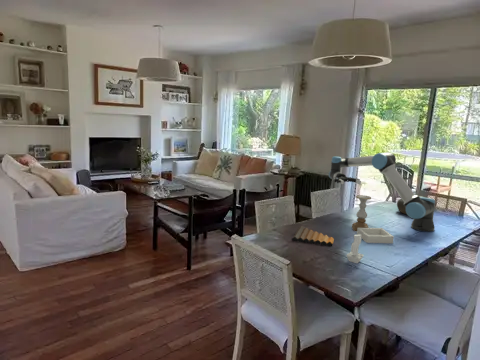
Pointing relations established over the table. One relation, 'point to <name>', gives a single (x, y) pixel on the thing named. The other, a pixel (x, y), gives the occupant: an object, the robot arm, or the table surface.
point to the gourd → (402, 205)
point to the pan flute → (312, 237)
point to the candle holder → (361, 213)
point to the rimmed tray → (375, 235)
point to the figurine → (355, 250)
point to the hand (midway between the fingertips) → (351, 182)
